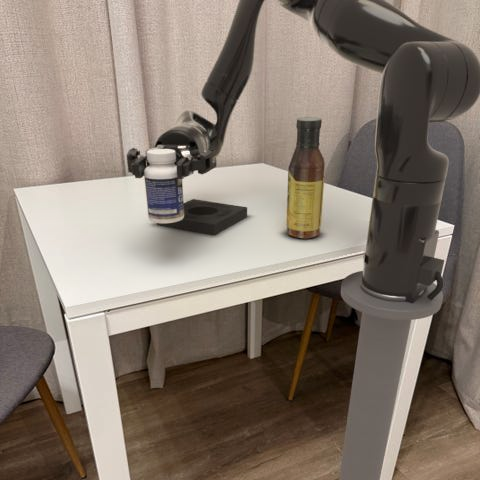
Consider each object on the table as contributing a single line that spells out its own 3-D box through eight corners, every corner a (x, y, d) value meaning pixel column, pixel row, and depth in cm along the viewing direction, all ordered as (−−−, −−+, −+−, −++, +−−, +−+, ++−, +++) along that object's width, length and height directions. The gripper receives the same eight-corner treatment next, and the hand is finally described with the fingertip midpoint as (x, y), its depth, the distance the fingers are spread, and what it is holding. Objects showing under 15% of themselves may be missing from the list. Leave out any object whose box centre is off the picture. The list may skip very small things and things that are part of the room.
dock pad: (247, 216, 98) (247, 207, 97) (214, 235, 88) (214, 224, 87) (193, 208, 103) (193, 198, 102) (156, 224, 93) (155, 214, 92)
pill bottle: (187, 222, 71) (183, 153, 66) (151, 225, 69) (144, 155, 64) (181, 212, 75) (176, 146, 70) (146, 215, 74) (139, 148, 69)
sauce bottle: (296, 226, 92) (303, 114, 82) (326, 233, 89) (336, 117, 79) (278, 236, 87) (283, 118, 78) (309, 243, 84) (318, 121, 74)
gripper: (138, 125, 80) (103, 142, 65) (224, 126, 79) (208, 143, 64) (142, 171, 83) (111, 197, 69) (225, 173, 82) (210, 199, 67)
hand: (158, 171), depth 66 cm, fingers closed on pill bottle, 5 cm apart
